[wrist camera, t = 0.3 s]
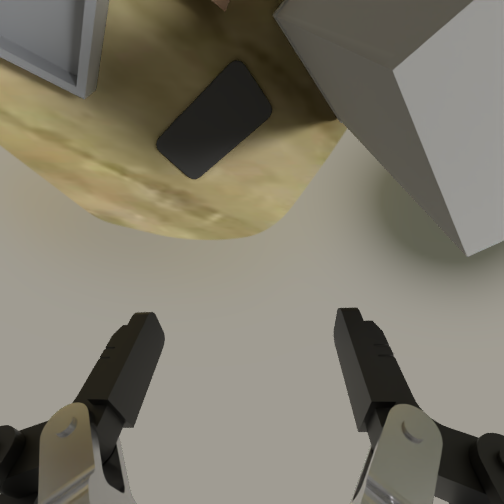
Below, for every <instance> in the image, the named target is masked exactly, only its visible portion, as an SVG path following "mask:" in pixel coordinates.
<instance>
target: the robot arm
mask: <svg viewBox="0 0 504 504" xmlns="http://www.w3.org/2000/svg"><path fill="white" fill-rule="evenodd" d="M164 341H165V337H164V332H163V330H162V328H161V326H160V323H159V321H158V319H157V317H156V315H155V314H154V313H153V312H143V313H142V312H141V313H135V314H134V315H133V316H132V318H131V319H130V321H129V323H128V325H123V326H122V327H121V328H120V329H119V330H118V331H117V332H116V333H115V334H114V335H113V336H112V337H111V339H110V341H109V343H108V344H107V346H106V349H105V350H104V351H103V353H102V354H101V356H100V359H99V360H98V361H97V363H96V365H95V366H94V368H93V370H92V372H91V374H90V375H89V377H88V379H87V380H86V382H85V384H84V386H83V387H82V389H81V391H80V392H79V394H78V396H77V397H76V399H75V400H74V401H73V403H72V404H69V405H67V406H65V407H63V408H61V409H60V410H59V411H57V412H56V413H55V414H54V415H53V416H52V417H51V418H50V420H49V421H46V422H44V423H41V424H38V425H35V426H32V427H29V428H26V429H23V430H20V431H18V430H16V429H15V428H13V427H11V426H9V425H5V426H0V493H1V494H0V504H136V502H135V500H134V498H133V496H132V494H131V490H130V486H129V482H128V476H127V472H126V467H125V462H124V457H123V453H122V447H121V442H120V439H119V435H120V433H121V430H122V428H129V427H130V428H133V427H134V424H135V422H136V419H137V417H138V414H139V411H140V408H141V406H142V403H143V400H144V397H145V395H146V392H147V390H148V387H149V384H150V381H151V379H152V376H153V373H154V370H155V368H156V365H157V363H158V359H159V357H160V355H161V352H162V349H163V346H164ZM334 342H335V346H336V350H337V354H338V358H339V361H340V365H341V369H342V373H343V376H344V379H345V384H346V387H347V391H348V395H349V398H350V403H351V406H352V410H353V414H354V418H355V421H356V425H357V429H358V432H368V435H369V439H370V442H371V446H370V449H369V451H368V454H367V457H366V460H365V463H364V465H363V469H362V471H361V474H360V477H359V480H358V482H357V485H356V488H355V491H354V494H353V497H352V499H351V502H350V504H433V499H434V496H435V497H438V498H440V499H443V500H445V501H447V502H449V504H504V436H503V435H500V434H496V433H487V434H484V435H482V436H481V437H479V438H477V437H475V436H472V435H469V434H466V433H463V432H460V431H457V430H454V429H451V428H448V427H446V426H443V425H441V424H439V423H437V422H436V421H434V420H433V419H431V418H430V417H429V416H428V415H427V414H426V413H425V412H423V410H422V409H421V408H420V407H419V406H418V404H417V403H416V402H415V399H414V397H413V395H412V393H411V391H410V389H409V387H408V385H407V382H406V380H405V378H404V376H403V374H402V372H401V370H400V367H399V365H398V363H397V361H396V359H395V358H394V356H393V352H392V350H391V348H390V347H389V344H388V342H387V340H386V338H385V336H384V333H383V331H382V330H380V328H379V327H378V326H377V325H376V324H375V323H374V322H373V321H363V318H362V316H361V313H360V311H359V309H358V308H338V310H337V316H336V321H335V327H334Z"/></svg>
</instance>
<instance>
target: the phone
mask: <svg viewBox="0 0 504 504" xmlns="http://www.w3.org/2000/svg"><path fill="white" fill-rule="evenodd" d="M271 112H272V108H271V105H270V103H269V101H268V100H267V98H266V97H265V95H264V94H263V92H262V91H261V89H260V87H259V86H258V84H257V83H256V81H255V80H254V78H253V77H252V75H251V74H250V72H249V71H248V69H247V68H246V66H245V65H244V64H243V63H242V62H241V61H237V60H236V61H233V62H231V63H230V64H229V65H228V66H227V67H226V68H225V69H224V70H223V71H222V72H221V73H220V74H219V75H218V76H217V77H216V78H215V79H214V80H213V82H212V83H211V84H210V85H209V86H208V87H207V88H206V89H205V90H204V91H203V92H202V93H201V94H200V95H199V96H198V97H197V98H196V99H195V100H194V101H193V103H192V104H191V105H190V106H189V107H188V108H187V109H186V110H185V111H184V112H183V113H182V114H181V115H180V116H179V117H178V118H177V119H176V120H175V121H174V122H173V123H172V124H171V126H170V127H169V128H168V129H167V130H166V131H165V132H164V133H163V134H162V135H161V136H160V137H159V139H158V140H157V143H156V146H157V149H158V150H159V151H160V152H161V153H162V154H163V155H164V156H165V157H166V158H167V159H168V160H170V161H171V162H172V163H173V164H174V165H175V166H176V167H178V168H179V169H180V170H181V171H182V172H183V173H184V174H186V175H187V176H188V177H189V178H191V179H197V178H199V177H201V176H202V175H203V174H204V173H205V172H207V171H208V170H209V169H210V168H211V167H212V166H214V165H215V164H216V163H217V162H218V161H219V160H220V159H222V158H223V157H224V156H225V155H226V154H227V153H229V152H230V151H231V150H232V149H233V148H234V147H236V146H237V145H238V144H239V143H240V142H241V141H243V140H244V139H245V138H246V137H247V136H248V135H250V134H251V133H252V132H253V131H254V130H255V129H256V128H258V127H259V126H260V125H261V124H262V123H263V122H265V121H266V120H267V119H268V118H269V117H270V115H271Z"/></svg>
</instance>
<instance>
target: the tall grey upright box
mask: <svg viewBox="0 0 504 504" xmlns="http://www.w3.org/2000/svg"><path fill="white" fill-rule="evenodd" d="M273 17H274V18H275V20H276V22H277V23H278V25H279V26H280V28H281V30H282V31H283V33H284V34H285V36H286V37H287V39H288V41H289V42H290V44H291V45H292V47H293V49H294V50H295V52H296V53H297V55H298V57H299V58H300V60H301V61H302V63H303V64H304V66H305V68H306V69H307V71H308V72H309V74H310V76H311V77H312V79H313V80H314V82H315V84H316V85H317V87H318V88H319V90H320V92H321V93H322V95H323V96H324V98H325V99H326V101H327V103H328V104H329V106H330V107H331V109H332V111H333V112H334V114H335V115H336V117H337V119H338V120H339V121H340V122H341V123H343V124H344V125H345V126H346V127H347V128H348V129H349V130H350V131H351V132H352V133H353V134H354V136H355V137H357V139H358V140H359V141H360V142H361V143H362V144H363V145H364V146H365V147H366V148H367V150H368V151H369V152H370V153H371V154H372V155H373V156H374V157H375V158H376V159H377V160H378V161H379V162H380V164H381V165H382V166H383V167H384V168H385V169H386V170H387V171H388V172H389V173H390V174H391V175H392V176H393V178H394V179H395V180H396V181H397V182H398V183H399V184H400V185H401V186H402V187H403V188H404V189H405V190H406V191H407V193H408V194H409V195H410V196H411V197H412V198H413V199H414V200H415V201H416V202H417V203H418V204H419V205H420V206H421V207H422V209H423V210H424V211H425V212H426V213H427V214H428V215H429V216H430V217H431V218H432V219H433V221H434V222H435V223H436V224H437V225H438V226H439V227H440V228H441V229H442V230H443V231H444V232H445V234H446V235H447V236H448V237H449V238H450V239H451V240H452V241H453V242H454V243H455V244H456V245H457V246H458V248H459V249H460V250H461V251H462V252H463V253H464V254H465V255H466V256H467V257H468V256H470V255H473V254H475V253H477V252H479V251H481V250H484V249H486V248H488V247H490V246H493V245H495V244H497V243H499V242H501V241H504V0H284V1H283V2H282V3H281V5H280V6H279V7H278V8H277V10H276V11H275V12H274V13H273Z"/></svg>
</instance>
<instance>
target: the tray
mask: <svg viewBox="0 0 504 504" xmlns="http://www.w3.org/2000/svg"><path fill="white" fill-rule="evenodd" d="M108 5H109V0H0V57H1V58H3V59H5V60H7V61H9V62H11V63H13V64H15V65H17V66H19V67H21V68H23V69H25V70H27V71H29V72H31V73H33V74H35V75H37V76H39V77H41V78H43V79H45V80H47V81H49V82H51V83H53V84H55V85H57V86H59V87H61V88H63V89H65V90H67V91H69V92H71V93H73V94H75V95H77V96H79V97H81V98H83V99H86V98H87V97H88V96H89V95H91V94H92V93H93V92H94V91H95V90H96V87H97V80H98V73H99V66H100V59H101V53H102V46H103V39H104V32H105V26H106V19H107V12H108Z"/></svg>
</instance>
